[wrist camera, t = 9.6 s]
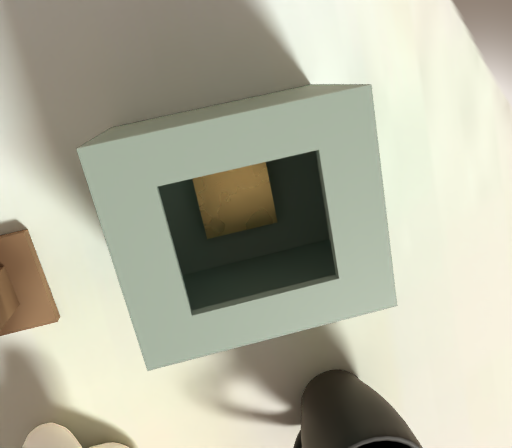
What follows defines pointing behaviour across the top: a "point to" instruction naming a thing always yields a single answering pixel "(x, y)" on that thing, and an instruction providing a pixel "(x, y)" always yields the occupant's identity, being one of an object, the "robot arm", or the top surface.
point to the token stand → (23, 286)
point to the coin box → (252, 240)
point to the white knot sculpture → (58, 438)
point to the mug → (349, 416)
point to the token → (235, 200)
